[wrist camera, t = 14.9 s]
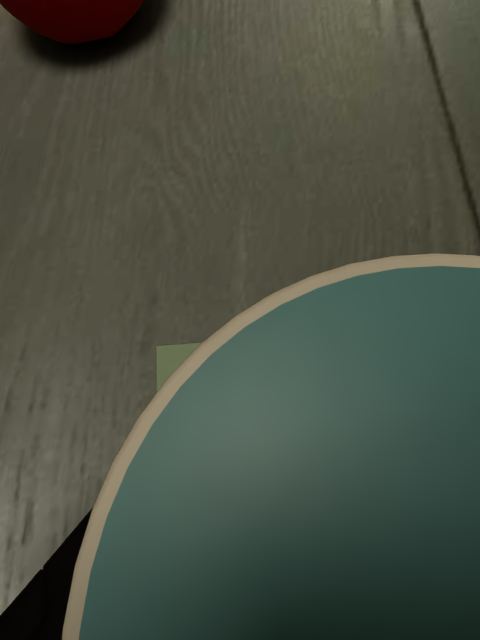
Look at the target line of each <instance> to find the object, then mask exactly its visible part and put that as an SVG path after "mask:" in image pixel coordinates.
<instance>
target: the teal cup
mask: <svg viewBox="0 0 480 640" xmlns="http://www.w3.org/2000/svg"><path fill="white" fill-rule="evenodd" d="M62 640H480V256H472V255H455V254H422V255H405V256H392V257H387V258H381V259H375V260H370V261H364V262H359V263H353V264H349V265H346V266H342V267H339V268H336V269H333V270H329V271H326V272H323V273H320V274H316V275H313V276H310V277H308V278H305V279H303V280H301V281H299V282H297V283H294V284H292V285H290V286H288V287H286V288H283V289H281V290H279V291H277V292H275V293H272V294H270V295H269V296H267V297H266V298H264V299H262V300H261V301H259V302H257V303H256V304H254V305H253V306H251V307H249V308H248V309H246V310H244V311H243V312H241V313H240V314H238V315H236V316H235V317H233V318H232V319H231V320H230V321H228V322H227V323H226V324H225V325H223V326H222V327H221V328H220V329H219V330H217V331H216V332H215V333H214V334H212V335H211V336H210V337H209V338H207V339H206V340H205V341H204V342H202V343H201V344H200V345H199V346H198V347H197V348H196V349H195V350H194V351H193V352H192V353H191V354H190V355H189V356H188V357H187V358H186V360H185V361H184V362H183V363H182V364H181V365H180V366H179V367H178V368H177V369H176V370H175V371H174V372H173V373H172V374H171V375H170V376H169V377H168V378H167V380H166V381H165V382H164V384H163V385H162V386H161V388H160V389H159V390H158V392H157V393H156V394H155V396H154V397H153V398H152V400H151V401H150V402H149V404H148V405H147V406H146V408H145V409H144V410H143V412H142V413H141V414H140V416H139V417H138V419H137V421H136V423H135V424H134V426H133V428H132V430H131V431H130V433H129V435H128V436H127V438H126V440H125V442H124V443H123V445H122V447H121V448H120V450H119V452H118V454H117V455H116V457H115V459H114V461H113V463H112V466H111V468H110V470H109V472H108V475H107V477H106V479H105V482H104V484H103V486H102V488H101V491H100V493H99V495H98V498H97V500H96V502H95V504H94V507H93V509H92V512H91V516H90V519H89V522H88V525H87V529H86V532H85V535H84V538H83V542H82V545H81V548H80V551H79V554H78V558H77V561H76V564H75V569H74V574H73V579H72V585H71V590H70V595H69V600H68V605H67V610H66V615H65V621H64V626H63V632H62Z"/></svg>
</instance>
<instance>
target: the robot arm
mask: <svg viewBox="0 0 480 640" xmlns="http://www.w3.org/2000/svg"><path fill="white" fill-rule="evenodd" d="M92 509H93V508H92ZM92 509H91V510H90V511H89V513H88V514H87V515H86V516H85V517H84V518H83V520H82V521H81V522H80V523H79V524H78V526H77V527H76V528H75V529H74V530H73V531H72V533H71V534H70V535H69V536H68V537H67V539H66V540H65V541H64V542H63V543H62V545H61V546H60V547H59V548H58V549H57V550H56V552H55V553H54V554H53V555H52V556H51V558H50V559H49V560H48V561H47V562H46V563H45V565H44V566H43V569H41V570H39V572H38V573H37V574H36V575H35V576H34V577H33V579H32V580H31V581H30V582H29V583H28V585H27V586H26V587H25V588H24V589H23V590H22V592H21V593H20V594H19V595H18V596H17V597H16V598H15V600H14V601H13V602H12V603H11V604H10V605H9V606H8V607H7V609H6V610H5V611H4V612H3V613H2V614H1V615H0V640H62V632H63V626H64V621H65V615H66V610H67V605H68V600H69V595H70V590H71V585H72V579H73V574H74V569H75V564H76V561H77V558H78V554H79V551H80V548H81V545H82V542H83V538H84V535H85V532H86V529H87V525H88V522H89V519H90V516H91V512H92Z"/></svg>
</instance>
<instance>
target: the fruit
mask: <svg viewBox="0 0 480 640" xmlns="http://www.w3.org/2000/svg"><path fill="white" fill-rule="evenodd" d="M143 1H144V0H0V4H1V5H2V6H3V7H4V8H5V9H6V10H7V11H8V12H9V13H11V14H12V15H13V16H14V17H15V18H17V19H18V20H20V21H21V22H22V23H24V24H25V25H27V26H28V27H29V28H31V29H32V30H34V31H35V32H37V33H39V34H41V35H43V36H45V37H47V38H50V39H52V40H55V41H58V42H62V43H66V44H77V43H83V42H88V41H93V40H98V39H103V38H108V37H111V36H113V35H114V34H115V33H117V32H118V31H119V30H120V29H121V28H122V27H123V26H124V25H125V24H126V23H127V22H128V21H129V20H130V19H131V18H132V17H133V16H134V14H135V13H136V12H137V10H138V9H139V8H140V6H141V5H142V3H143Z"/></svg>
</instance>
